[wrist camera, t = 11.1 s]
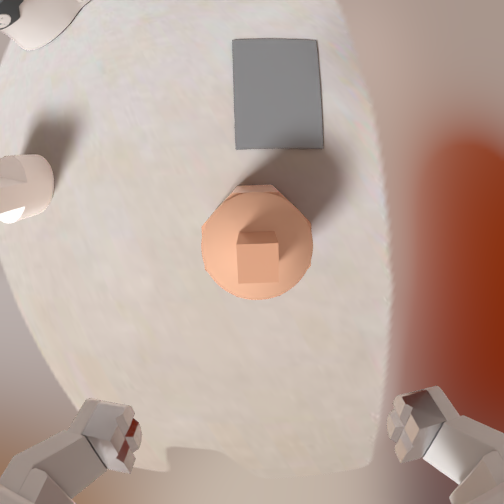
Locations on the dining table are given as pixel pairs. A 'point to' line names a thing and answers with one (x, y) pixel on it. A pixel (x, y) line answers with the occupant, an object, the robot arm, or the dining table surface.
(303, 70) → the mat
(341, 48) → the dining table surface
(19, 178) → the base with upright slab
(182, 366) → the dining table surface
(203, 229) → the cloche
